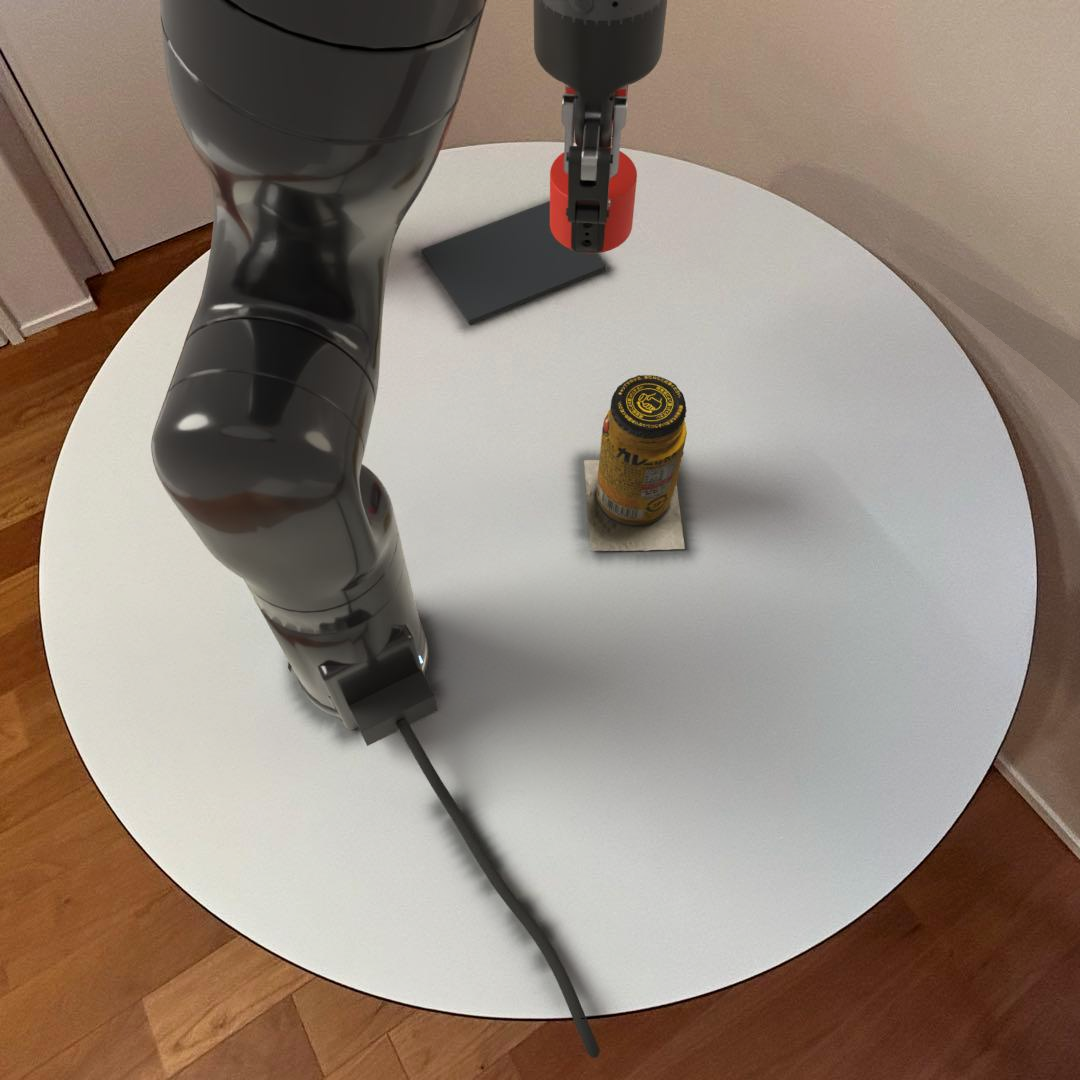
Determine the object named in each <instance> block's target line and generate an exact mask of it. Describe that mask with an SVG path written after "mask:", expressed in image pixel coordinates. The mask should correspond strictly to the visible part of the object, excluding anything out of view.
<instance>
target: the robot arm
mask: <svg viewBox="0 0 1080 1080" xmlns="http://www.w3.org/2000/svg"><path fill="white" fill-rule="evenodd" d="M487 1H488V0H159V2H160V3H159V5H160V24H161V37H162V46H163V56H164V62H165V63H164V65H165V71H166V76H167V83H168V86H169V90H170V94H171V98H172V101H173V104H174V108H175V110H176V113H177V116H178V118H179V121H180V124H181V126H182V129H183V130H184V132H185V135H186V136H187V137H186V138H188V141H189V142H190V145H191V147H192V149H193V151H194V152H195V154H196V156H197V158H198V160H199V161H200V163H201V165H202V166H203V168H204V169H205V171H206V173H207V175H208V176H209V179H210V183H211V187H212V193H213V222H212V233H211V243H210V251H209V257H208V264H207V270H206V274H205V278H204V282H203V287H202V291H201V295H200V299H199V302H198V305H197V308H196V310H195V312H194V315H193V318H192V321H191V323H190V325H189V328H188V331H187V334H186V336H185V339H184V343H183V346H182V348H181V351H180V353H179V354H180V355H179V358H178V360H177V364H176V366H175V369H174V372H173V374H172V377H171V380H170V383H169V386H168V389H167V392H166V394H165V397H164V400H163V403H162V405H161V409H160V410H159V412H158V417H157V419H156V422H155V425H154V428H153V432H152V434H151V441H150V453H151V458H152V464H153V467H154V471H155V472H156V475H157V478H158V479H159V482H160V484H161V485H162V487H163V488H164V491H165V492H166V493H167V495H168V497H169V498H170V500H171V501H172V502H173V504H174V505H175V507H176V508H177V509H178V511H179V512H180V513H181V515H182V516H183V517H184V519H185V520H186V522H187V523H188V525H189V526H190V528H192V530H193V531H194V532H195V534H196V535H197V537H198V538H199V539H200V541H201V543H202V544H203V545H204V547H205V548H206V550H208V551H209V553H210V554H211V555H212V557H214V558H215V559H216V560H217V561H218V562H219V563H220V564H221V565H222V566H223V567H225V568H226V569H227V570H229V571H230V572H231V573H233V574H234V575H236V576H238V577H239V578H241V579H243V581H244V583H245V585H246V587H247V588H248V590H249V592H250V594H251V596H252V597H253V600H254V601H255V604H256V605H257V607H258V608H259V611H260V612H261V614H262V616H263V618H264V620H265V621H266V623H267V625H268V627H269V629H270V631H271V633H272V634H273V636H274V637H275V639H276V641H277V643H278V645H279V647H280V648H281V650H282V652H283V654H284V655H285V658H286V659H287V661H288V663H287V664H288V665H287V669H288V670H289V672H290V673H292V670H293V672H294V674H295V676H296V678H297V680H298V683H299V685H300V687H301V689H302V690H303V692H304V694H305V695H306V697H307V698H308V699H309V701H310V702H311V703H312V704H313V705H314V706H315V707H316V708H318V709H319V710H320V711H322V712H324V713H326V714H327V715H330V716H331V717H332V716H333V717H335V718H338V719H340V720H341V721H342V722H343V725H344V726H345V728H346V729H347V731H354V730H355V729H357V728H358V729H359V731H360V734H361V736H362V738H363V740H364V742H365V744H366V747H368V746H370V745H372V744H374V743H377V742H378V741H381V740H382V739H384V738H387V737H388V736H391V735H392V734H394V733H396V732H398V731H399V732H400V734H401V736H402V738H403V739H404V741H405V743H406V744H407V746H408V748H409V750H410V752H411V753H412V756H413V757H414V759H415V761H416V763H417V764H418V766H419V768H420V770H421V771H422V773H423V775H424V776H425V778H426V780H427V782H428V783H429V785H430V787H431V788H432V790H433V791H434V793H435V795H436V796H437V798H438V799H439V801H440V802H441V804H442V805H443V807H444V809H445V810H446V812H447V813H448V815H449V817H450V819H451V820H452V822H453V823H454V825H455V827H456V829H457V830H458V831H459V833H460V835H461V837H462V838H463V840H464V842H465V844H466V845H467V847H468V848H469V850H470V852H471V854H472V856H473V857H474V859H475V860H476V862H477V863H478V865H479V867H480V868H481V870H482V871H483V873H484V875H485V876H486V878H487V879H488V881H489V882H490V884H491V885H492V887H493V889H494V890H495V891H496V893H497V894H498V895H499V897H500V898H501V899H502V901H503V902H504V903H505V905H506V906H507V907H508V909H509V910H510V911H511V912H512V914H513V915H514V916H515V917H516V918H517V920H518V921H519V922H520V923H521V925H522V926H523V927H524V929H525V930H526V931H527V933H528V934H529V935H530V937H531V939H532V940H533V941H534V943H535V944H536V946H537V948H538V949H539V950H540V952H541V954H542V955H543V957H544V959H545V961H546V962H547V965H548V966H549V968H550V970H551V972H552V975H553V976H554V978H555V980H556V982H557V984H558V987H559V989H560V991H561V993H562V996H563V998H564V1000H565V1003H566V1005H567V1008H568V1010H569V1012H570V1015H571V1018H572V1019H573V1020H572V1021H573V1023H574V1024H575V1027H576V1029H577V1032H578V1034H579V1037H580V1040H581V1041H582V1044H583V1046H584V1048H585V1050H586V1052H587V1054H588V1056H590V1057H591V1058H592V1059H596V1058H598V1057H599V1055H600V1051H601V1050H600V1046H599V1045H598V1042H597V1040H596V1037H595V1034H594V1033H593V1030H592V1028H591V1026H590V1022H589V1021H588V1019H587V1016H586V1014H585V1011H584V1009H583V1007H582V1004H581V1001H580V998H579V997H578V994H577V992H576V990H575V988H574V985H573V983H572V980H571V978H570V976H569V974H568V972H567V970H566V968H565V966H564V964H563V962H562V961H561V959H560V957H559V955H558V953H557V951H556V949H555V948H554V946H553V944H552V943H551V942H550V940H549V938H548V937H547V935H546V934H545V932H544V931H543V930H542V928H541V927H540V926H539V923H537V921H536V920H535V919H534V917H533V916H532V914H530V912H529V911H528V910H527V908H526V907H525V906H524V904H522V902H521V901H520V900H519V898H517V896H516V895H515V893H514V892H513V891H512V890H511V888H510V887H509V886H508V884H507V882H506V880H504V878H503V877H502V876H501V874H500V872H499V871H498V869H497V868H496V866H495V864H493V862H492V860H491V859H490V857H489V855H488V854H487V852H486V851H485V849H484V848H483V846H482V844H481V843H480V840H479V839H478V838H477V835H476V834H475V833H474V831H473V829H472V827H471V826H470V824H469V822H468V820H467V819H466V817H465V816H464V814H463V811H461V809H460V808H459V806H458V804H457V803H456V801H455V799H454V797H453V796H452V795H451V793H450V792H449V790H448V788H447V787H446V785H445V783H444V782H443V780H442V779H441V777H440V775H439V773H438V772H437V770H436V769H435V767H434V765H433V764H432V762H431V760H430V758H429V756H428V755H427V753H426V751H425V750H424V748H423V746H422V744H421V742H420V741H419V739H418V737H417V735H416V734H415V732H414V730H413V728H412V726H411V725H412V724H415V723H416V722H418V721H421V720H423V719H425V718H426V717H428V716H430V715H432V714H435V713H437V712H438V711H439V707H438V703H437V699H436V695H435V693H434V691H433V688H432V687H431V685H430V683H429V681H428V680H427V677H426V676H425V675H426V672H427V667H428V661H429V647H428V642H427V637H426V634H425V630H424V629H423V626H422V623H421V622H422V621H421V619H420V616H419V612H418V608H417V604H416V599H415V595H414V591H413V587H412V583H411V577H410V573H409V570H408V565H407V561H406V557H405V554H404V549H403V543H402V540H401V535H400V531H399V527H398V523H397V519H396V514H395V511H394V510H395V509H394V507H393V506H394V505H393V503H392V500H391V496H390V495H389V493H388V491H387V488H386V487H385V486H384V484H383V482H382V481H381V479H380V478H379V477H378V476H377V475H376V473H374V472H373V470H371V469H370V468H369V467H368V466H366V465H364V464H363V460H364V459H363V458H364V456H365V452H366V448H367V443H368V438H369V433H370V428H371V425H372V420H373V415H374V410H375V406H376V401H377V395H378V388H379V381H380V380H379V379H380V364H381V346H382V330H383V315H384V303H385V294H386V287H387V278H388V269H389V262H390V258H391V254H392V253H391V252H392V247H393V244H394V240H395V237H396V234H397V233H398V230H399V228H400V226H401V224H402V222H403V220H404V218H405V217H406V215H407V213H408V212H409V210H410V209H411V207H412V206H413V204H414V202H415V201H416V199H417V198H418V197H419V196H420V195H419V194H420V192H421V191H422V190H423V188H424V185H425V184H426V182H427V180H428V178H429V176H430V174H431V172H432V171H433V168H434V167H435V164H436V162H437V160H438V158H439V154H440V153H441V150H442V147H443V145H444V143H445V140H446V138H447V135H448V132H449V129H450V126H451V124H452V122H453V118H454V115H455V113H456V110H457V107H458V104H459V101H460V98H461V96H462V91H463V88H464V84H465V81H466V79H467V78H466V77H467V74H468V70H469V66H470V62H471V60H472V55H473V51H474V48H475V45H476V40H477V37H478V33H479V31H480V30H479V29H480V26H481V23H482V19H483V15H484V12H485V8H486V5H487ZM667 7H668V0H533V49H534V54H535V58H536V60H537V62H538V63H539V65H540V66H541V68H542V69H543V70H544V71H545V72H546V73H547V74H548V75H549V76H551V77H552V78H553V79H555V80H557V81H558V82H561V83H563V84H564V93H562V99H561V124H562V125H563V127H564V145H563V146H564V147H563V148H564V149H563V152H564V171H565V172H566V173H567V174H568V208H566V216H568V222H572V224H571V248H572V249H573V250H574V251H576V252H589V253H596V254H600V253H599V252H601V251H602V250H603V247H604V233H605V224H606V220H607V218H609V212H610V210H607V208H608V207H610V199H608V194H609V180H610V178H611V177H613V176H615V175H616V174H617V172H618V165H619V151H621V135H622V130H623V129H624V128H625V127H626V123H627V111H628V95H629V86H630V85H632V84H635V83H637V82H639V81H640V80H642V79H644V78H645V77H646V76H648V75H649V74H651V72H652V71H653V70H654V69H655V68H656V66H657V65H658V63H659V61H660V59H661V56H662V52H663V45H664V37H665V36H664V35H665V27H666V26H665V25H666V17H667ZM574 142H575V143H574ZM574 144H575V145H574ZM609 147H612V149H611V148H609ZM581 1018H585V1019H581Z"/></svg>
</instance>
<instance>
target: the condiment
mask: <svg viewBox="0 0 1080 1080" xmlns="http://www.w3.org/2000/svg"><path fill="white" fill-rule="evenodd" d="M687 411H688V409H687V404H686V399H685V396H684V392H682V391H681V390H680V389H679V388H678V386H677V385H676V384H675V383H674V382H672V381H671V380H669V379H667V378H665V377H662V376H659V375H654V374H653V375H652V374H651V375H650V374H649V375H648V374H647V375H646V374H643V375H640V374H638V375H635V376H633V377H629V378H628V379H626V380H625V381H623V382H622V383H621V384H620V385H618V386H617V388H616V390H615V391H614V392H613V394H612V396H611V400H610V407H609V410H608V411H607V413H606V415H605V417H604V418H603V425H602V429H601V438H600V441H601V442H600V449H599V450H600V451H599V452H600V453H599V459H586V460H583V463H584V465H583V467H584V480H585V481H584V482H585V497H586V509H587V523H588V525H587V526H588V538H589V550H590V551H592V552H593V551H594V552H596V551H600V552H601V551H602V552H619V551H621V552H630V551H631V552H635V551H637V552H638V551H643V552H647V551H660V550H661V551H669V550H685V539H684V531H683V523H682V516H681V515H682V514H681V509H680V501H679V493H678V486H677V483H678V477H679V470H680V467H681V466H680V465H681V463H682V458H683V456H684V448H685V446H686V439H687V435H688V433H687V424H686V417H687V415H686V414H687Z"/></svg>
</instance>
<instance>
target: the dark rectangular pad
mask: <svg viewBox="0 0 1080 1080" xmlns="http://www.w3.org/2000/svg"><path fill="white" fill-rule="evenodd" d="M420 252H421V255H422V257H423V258H424V260H425V261H426V263H427V264H428V265H429V267H430V268H431V270H432V272H433V273H434V274H435V276H436V277H437V279H438V281H439V282H440V284H441V285H442V287H443V288H444V289H445V291H446V293H447V294H448V295H449V297H450V298H451V300H452V302H453V304H455V306H456V307H457V309H458V310H459V312H460V314H461V315H462V316H463V318H464V319H465V321H466V322H467V324H468V325H469V326H471V325H473V324H475V323H478V322H481V321H483V320H486V319H488V318H492V317H493V316H495V315H497V314H501V313H504V312H506V311H508V310H510V309H513V308H516V307H518V306H521V305H523V304H526V303H528V302H530V301H532V300H536V299H538V298H540V297H543V296H545V295H548V294H551V293H553V292H556V291H558V290H561V289H563V288H565V287H568V286H571V285H573V284H576V283H578V282H580V281H584V280H585V279H588V278H590V277H593V276H595V275H598V274H600V273H603V272H606V264H605V263H604V262H603V261H602V259H601V258H600V257H599V256H598V254H597V253H582V252H576V251H574V250H571V249H569V248H567V247H565V246H563V245H562V244H561V243H559V242H558V241H557V240H556V238H555V237H554V235H553V234H552V232H551V229H550V200H549V201H546V202H544V203H541V204H539V205H536V206H533V207H530V208H527V209H525V210H522V211H520V212H517V213H514V214H512V215H511V214H510V215H509V216H506V217H503V218H501V219H498V220H495V221H493V222H490V223H487V224H484V225H482V226H480V227H476V228H474V229H472V230H469V231H466V232H463V233H461V234H458V235H455V236H453V237H450V238H446V239H445V240H442V241H440V242H436V243H435V244H432V245H429V246H425V247H424V248H421V251H420Z"/></svg>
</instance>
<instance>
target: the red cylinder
mask: <svg viewBox="0 0 1080 1080" xmlns="http://www.w3.org/2000/svg"><path fill="white" fill-rule="evenodd" d="M609 148H611V149H612V146H611V147H609ZM637 181H638V171H637V168H636V166H635V163H634V161H633V160H632V159H631V157H629V156H628V155H627V154H626V153H624V152H623V151H621V150H620V151H619V165H618V172H617V174H616V175H615V176H613V177H611V178H610V180H609V194H608V199H610V207H608V208H607V210H610V212H609V218H607V220H606V224H605V233H604V247H603V250H602V251H601V252H599V253H598V254H600V253H601V254H602V253H606V252H609V251H612V250H614V249H616V248H618V247H620V246H621V245H622V244H624V243H625V242H626V241H627V239H628V238H629V237H630V235H631V232H632V230H633V224H634V223H633V221H634V212H635V203H636V191H637ZM549 201H550V229H551V232H552V234H553V235H554V237H555V238H556V240H557V241H558V242H559V243H561V244H562V245H563V246H565V247H567V248H569V249H571V250H573V249H572V248H571V224H572V222H568V216H566V208H568V174H567V173H566V172H565V171H564V151H563V152H562V153H560V155H558V156H557V157H556V158H555V159H554V160H553V162H552V164H551V167H550V170H549ZM582 253H589V252H582Z"/></svg>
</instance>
